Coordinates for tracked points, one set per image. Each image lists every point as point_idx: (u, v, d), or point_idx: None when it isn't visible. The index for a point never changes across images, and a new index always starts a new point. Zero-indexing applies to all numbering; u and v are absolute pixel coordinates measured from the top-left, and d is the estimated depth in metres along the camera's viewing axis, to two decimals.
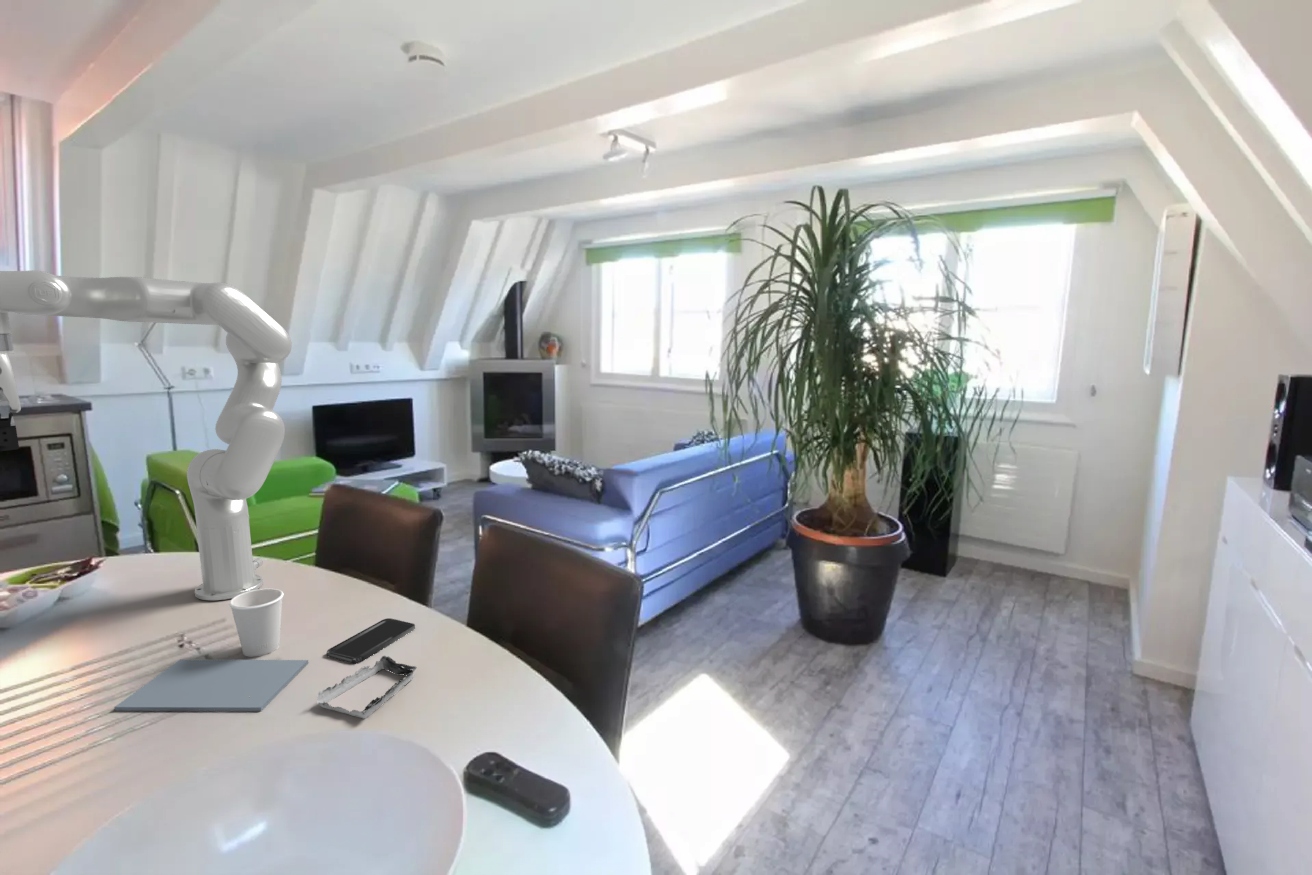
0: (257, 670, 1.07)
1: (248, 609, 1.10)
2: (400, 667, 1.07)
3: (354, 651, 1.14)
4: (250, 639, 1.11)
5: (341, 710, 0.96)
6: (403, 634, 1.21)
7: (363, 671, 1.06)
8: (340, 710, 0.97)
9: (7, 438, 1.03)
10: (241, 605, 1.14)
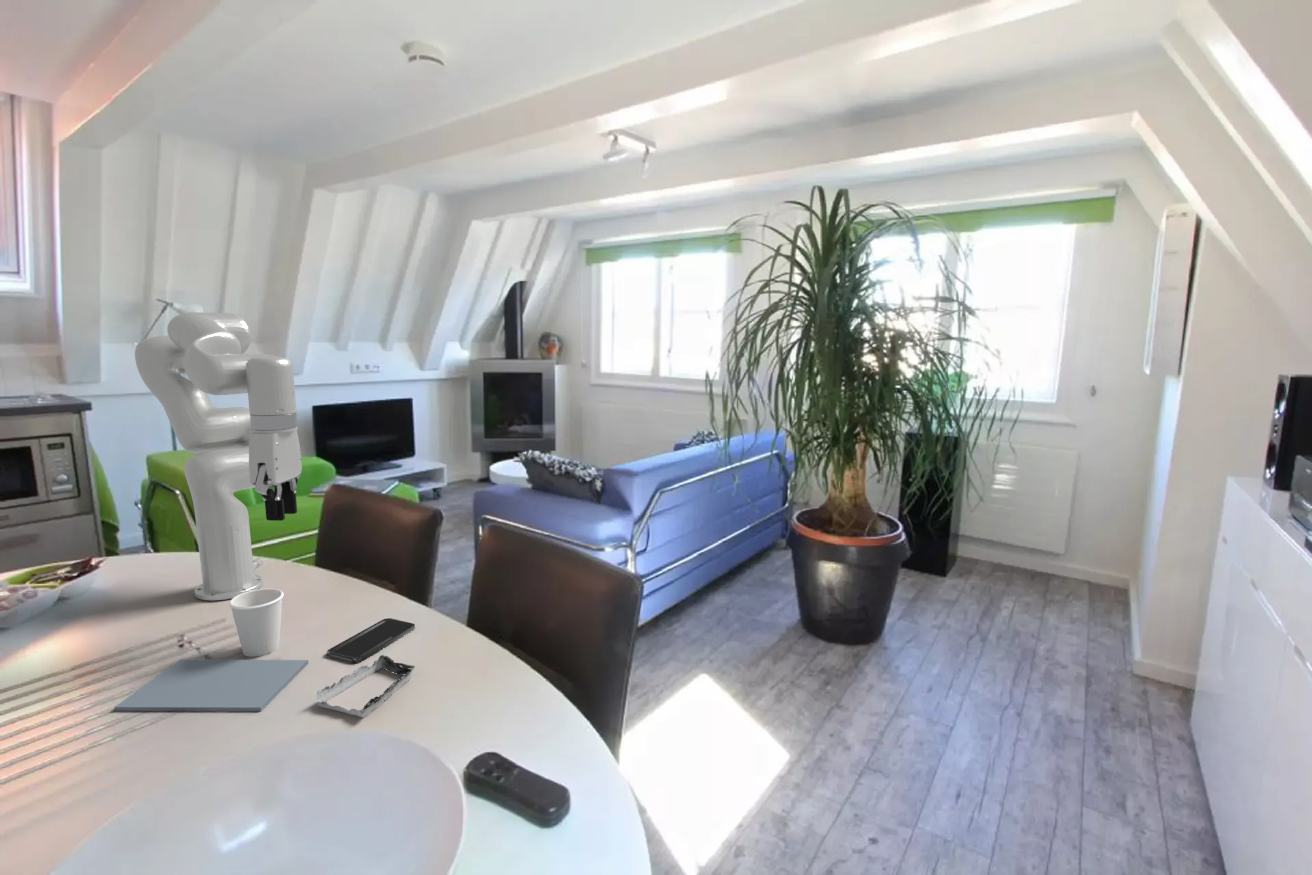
0: (257, 670, 1.07)
1: (248, 609, 1.10)
2: (398, 666, 1.07)
3: (354, 651, 1.14)
4: (250, 639, 1.11)
5: (340, 709, 0.97)
6: (403, 634, 1.21)
7: (362, 671, 1.06)
8: (339, 709, 0.97)
9: None
10: (241, 605, 1.14)
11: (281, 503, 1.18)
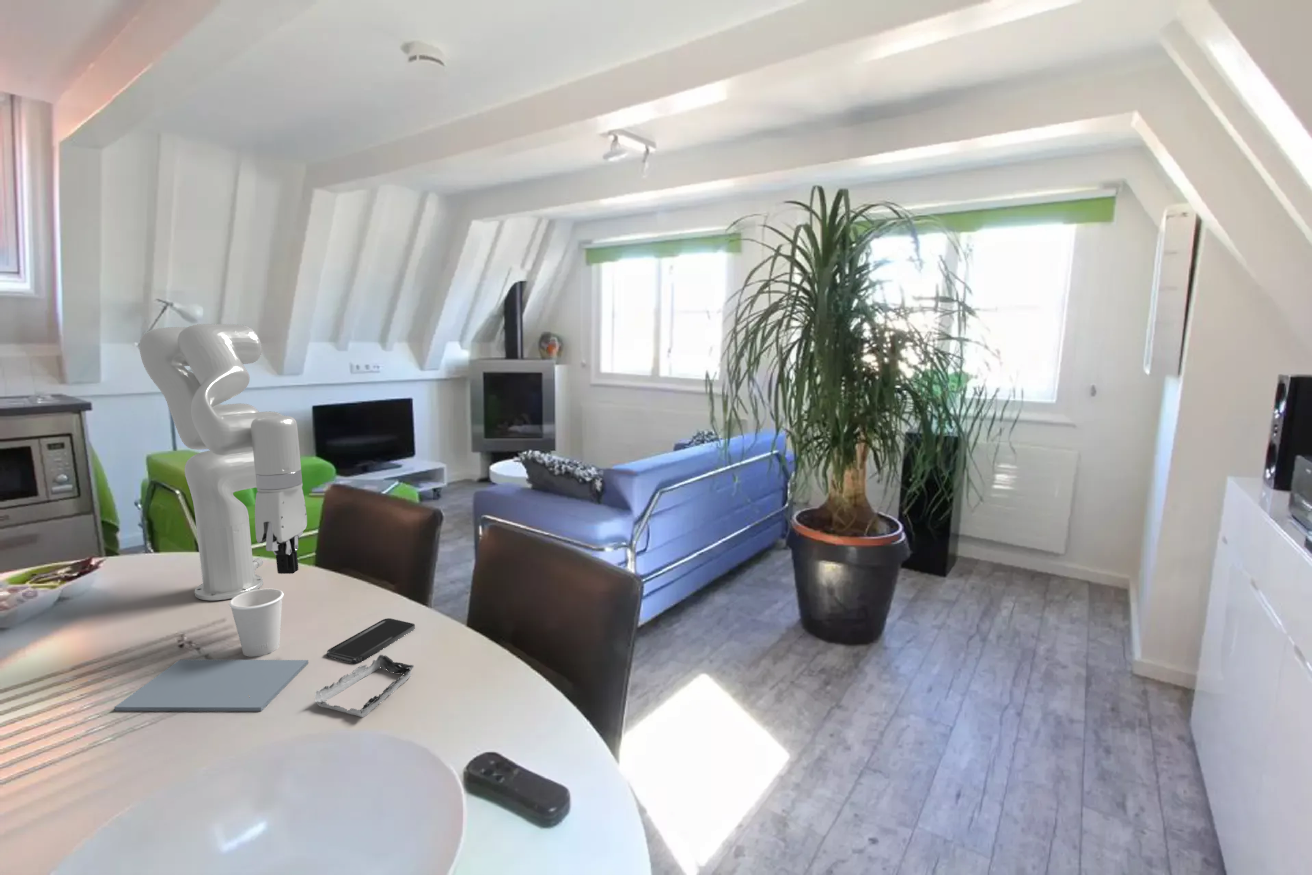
0: (257, 670, 1.07)
1: (248, 609, 1.10)
2: (397, 666, 1.07)
3: (354, 651, 1.14)
4: (250, 639, 1.11)
5: (339, 709, 0.97)
6: (403, 634, 1.21)
7: (360, 670, 1.06)
8: (338, 709, 0.97)
9: None
10: (241, 605, 1.14)
11: (292, 557, 1.21)
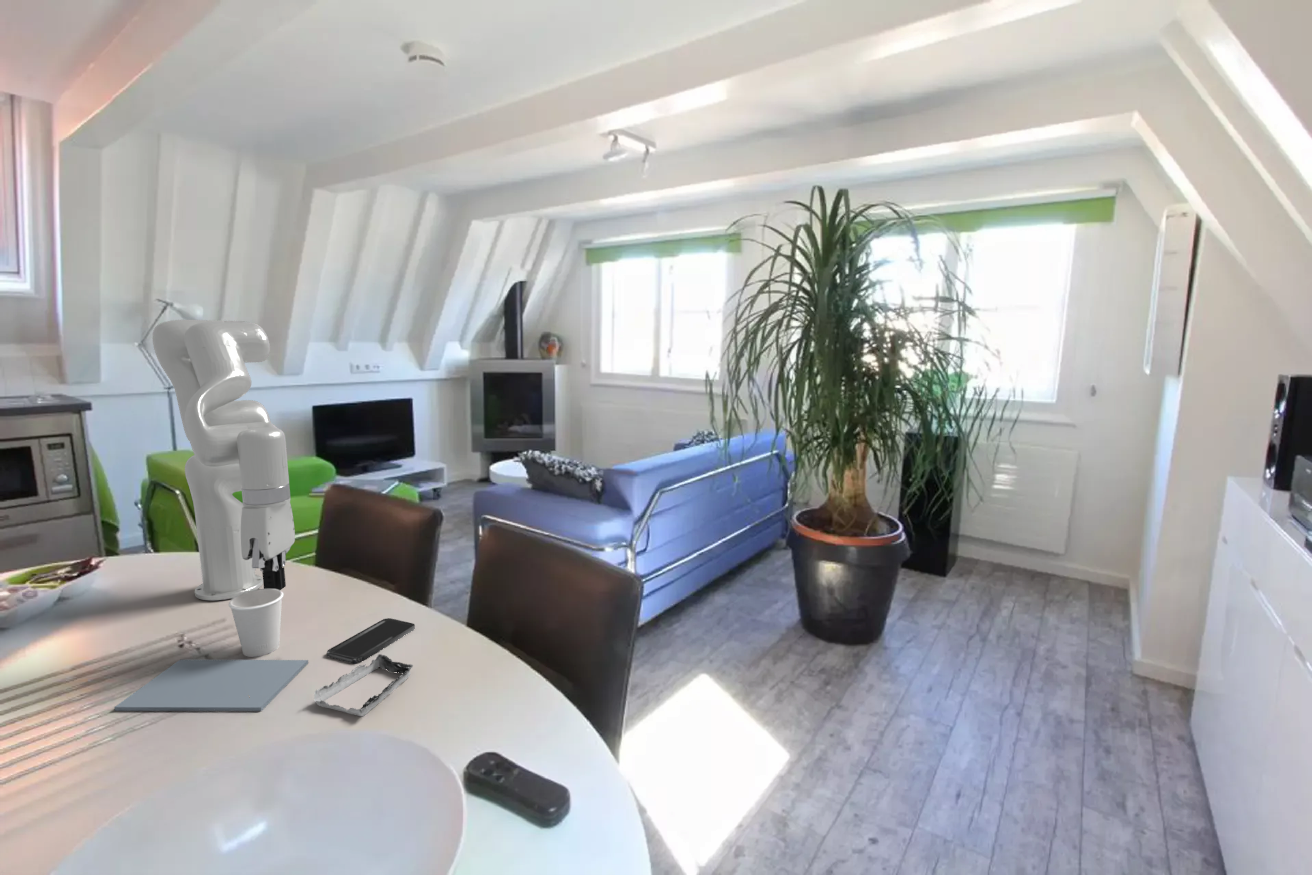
0: (257, 670, 1.07)
1: (247, 609, 1.10)
2: (396, 665, 1.08)
3: (354, 651, 1.14)
4: (250, 639, 1.11)
5: (338, 708, 0.97)
6: (403, 634, 1.21)
7: (360, 670, 1.06)
8: (337, 708, 0.97)
9: None
10: (241, 605, 1.14)
11: (279, 573, 1.18)
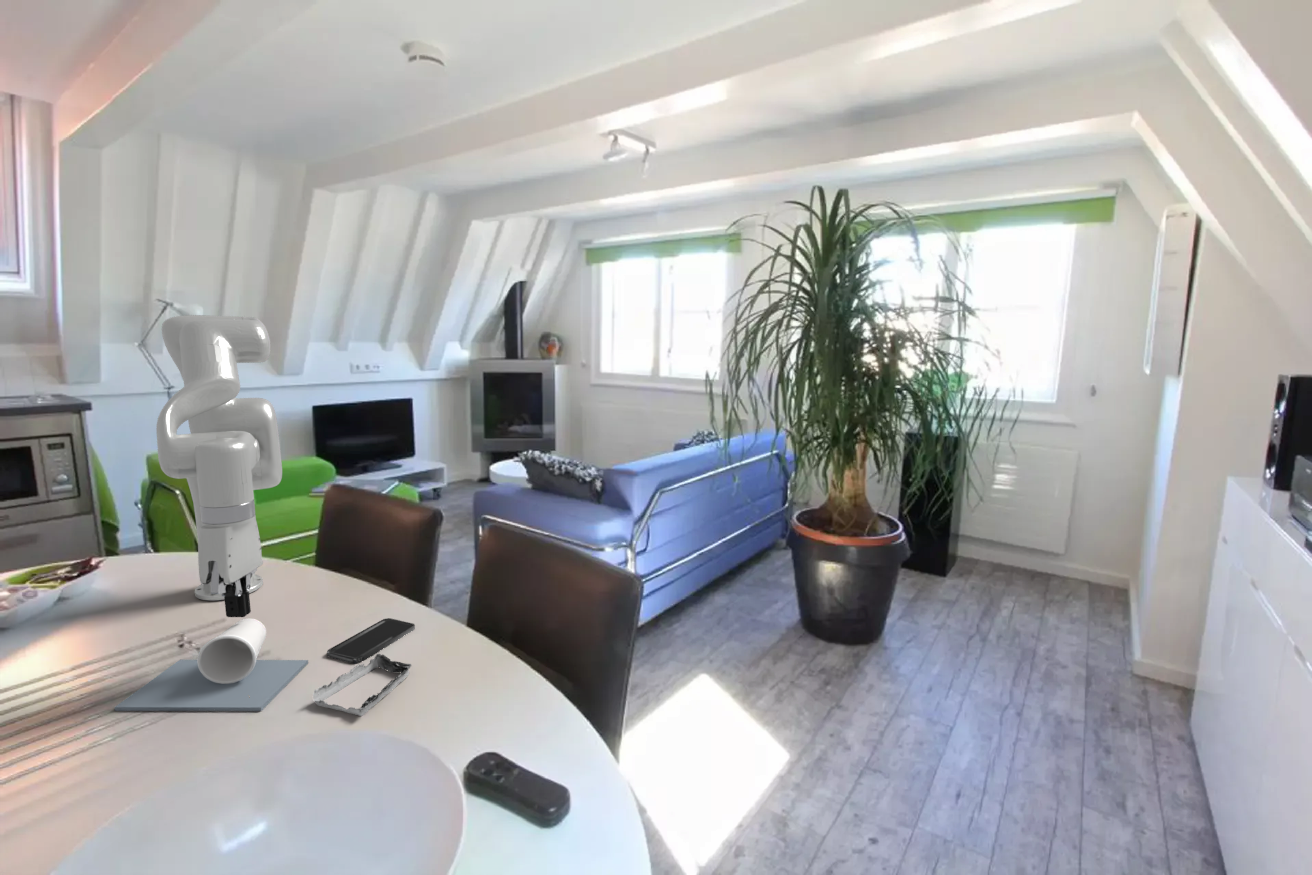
0: (257, 670, 1.07)
1: (230, 681, 1.03)
2: (395, 664, 1.08)
3: (354, 651, 1.14)
4: None
5: (337, 708, 0.97)
6: (403, 634, 1.21)
7: (358, 669, 1.06)
8: (336, 708, 0.97)
9: None
10: (208, 649, 1.03)
11: (242, 599, 1.07)
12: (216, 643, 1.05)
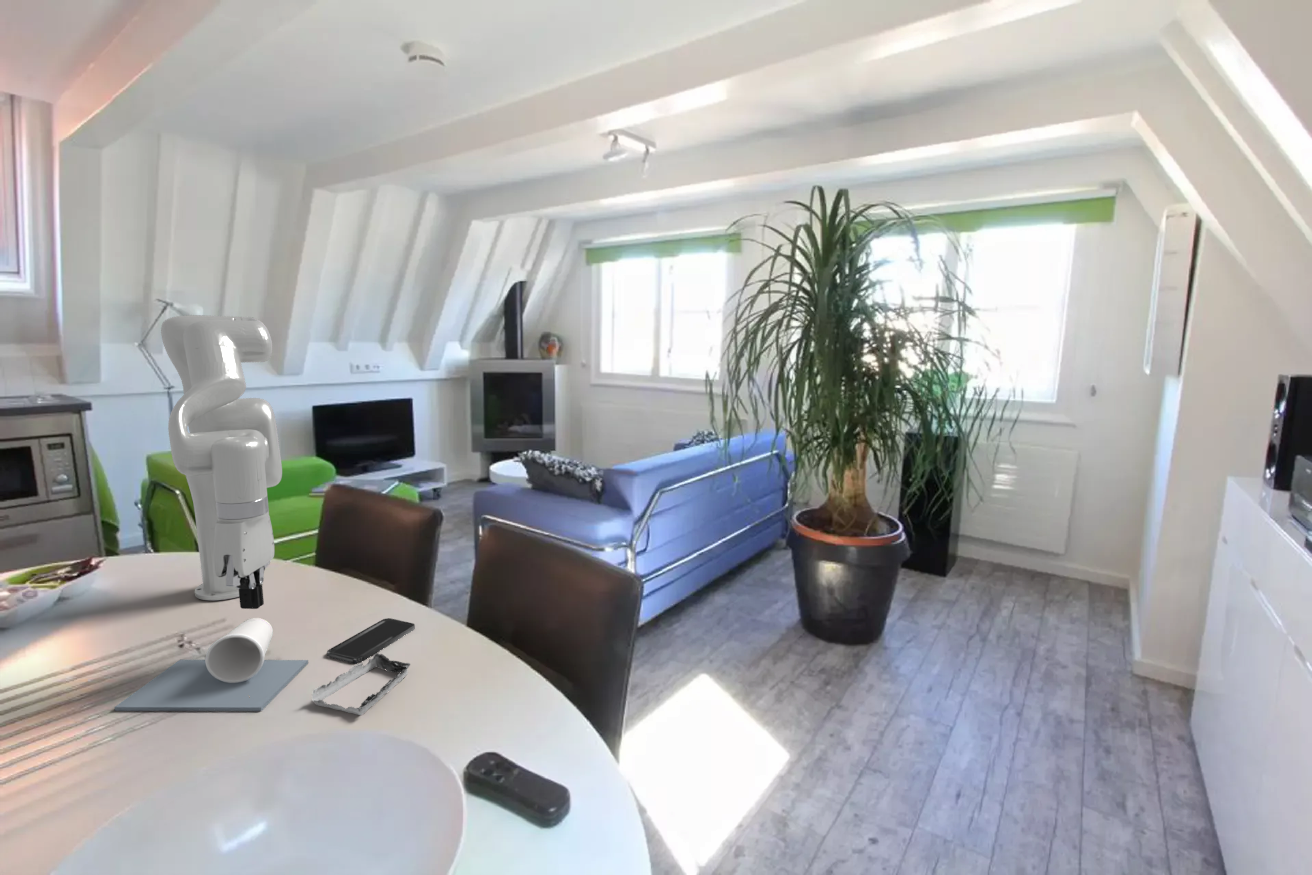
0: None
1: (231, 680, 1.03)
2: (393, 664, 1.08)
3: (354, 651, 1.14)
4: None
5: (336, 707, 0.97)
6: (403, 634, 1.21)
7: (357, 669, 1.06)
8: (335, 707, 0.97)
9: None
10: (218, 643, 1.03)
11: (256, 591, 1.11)
12: None
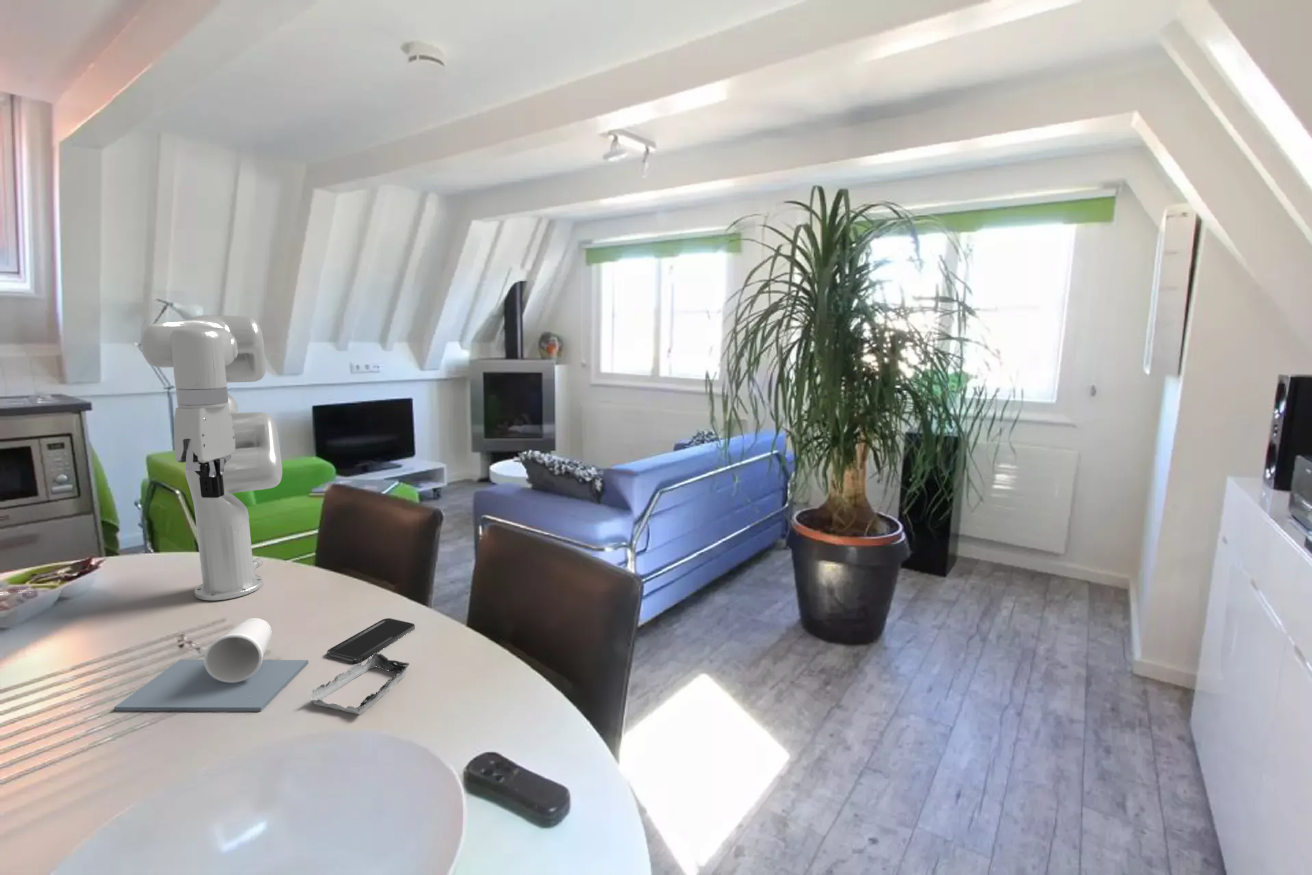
0: None
1: (231, 680, 1.03)
2: (392, 663, 1.08)
3: (354, 651, 1.14)
4: None
5: (336, 707, 0.97)
6: (403, 634, 1.21)
7: (356, 669, 1.06)
8: (335, 707, 0.97)
9: None
10: (216, 644, 1.03)
11: (216, 480, 1.15)
12: (224, 639, 1.06)
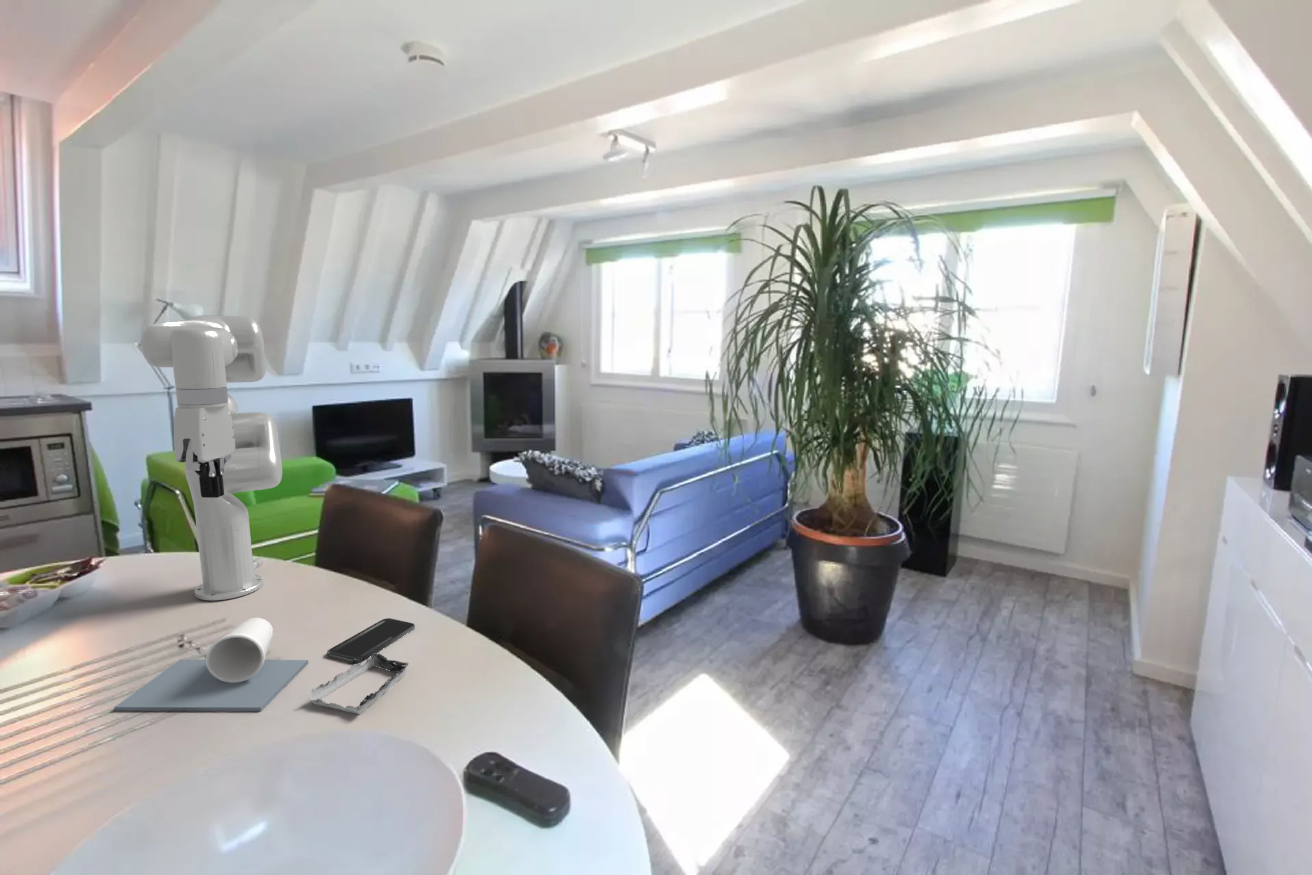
0: None
1: (231, 680, 1.03)
2: (391, 663, 1.08)
3: (354, 651, 1.14)
4: None
5: (335, 706, 0.97)
6: (403, 634, 1.21)
7: (355, 669, 1.06)
8: (334, 706, 0.97)
9: None
10: (219, 643, 1.03)
11: (216, 480, 1.15)
12: None
